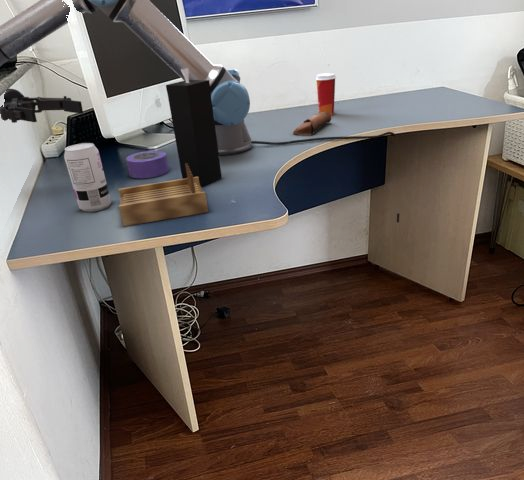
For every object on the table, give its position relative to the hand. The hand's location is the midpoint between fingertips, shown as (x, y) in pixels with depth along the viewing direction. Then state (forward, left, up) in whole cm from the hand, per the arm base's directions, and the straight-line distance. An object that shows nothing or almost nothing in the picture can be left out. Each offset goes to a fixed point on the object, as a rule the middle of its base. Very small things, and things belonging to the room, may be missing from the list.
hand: (58, 111), depth 127 cm
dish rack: (-20, +17, -22) cm, 35 cm away
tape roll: (-18, -19, -23) cm, 35 cm away
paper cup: (-89, -64, -23) cm, 112 cm away
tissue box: (-32, -2, -23) cm, 39 cm away
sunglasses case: (-77, -44, -23) cm, 92 cm away
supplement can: (-3, +6, -23) cm, 24 cm away
